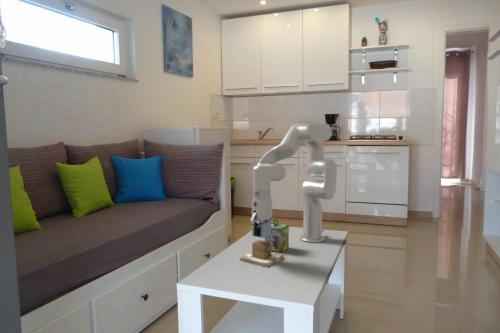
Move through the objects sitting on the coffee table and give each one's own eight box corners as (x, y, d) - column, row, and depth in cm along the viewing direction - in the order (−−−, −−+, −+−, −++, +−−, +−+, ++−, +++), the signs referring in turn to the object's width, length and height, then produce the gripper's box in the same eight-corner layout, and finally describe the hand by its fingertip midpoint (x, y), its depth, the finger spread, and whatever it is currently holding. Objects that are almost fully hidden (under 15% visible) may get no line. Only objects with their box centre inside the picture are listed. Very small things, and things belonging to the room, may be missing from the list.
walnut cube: (260, 252, 167) (260, 239, 167) (271, 255, 164) (271, 242, 163) (252, 256, 163) (252, 243, 162) (263, 259, 159) (263, 245, 159)
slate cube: (259, 232, 166) (259, 219, 166) (271, 234, 163) (271, 221, 162) (252, 235, 162) (252, 222, 161) (263, 238, 158) (263, 224, 158)
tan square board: (257, 252, 173) (257, 248, 173) (283, 257, 165) (283, 254, 165) (239, 260, 162) (239, 257, 162) (266, 267, 154) (266, 263, 153)
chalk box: (281, 253, 171) (281, 222, 170) (264, 250, 176) (264, 219, 174) (289, 247, 179) (289, 217, 178) (272, 245, 184) (272, 215, 182)
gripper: (257, 197, 151) (257, 240, 153) (279, 191, 165) (279, 231, 167) (242, 195, 156) (243, 237, 157) (265, 190, 170) (265, 228, 171)
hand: (261, 233), depth 162 cm, fingers closed on slate cube, 6 cm apart
